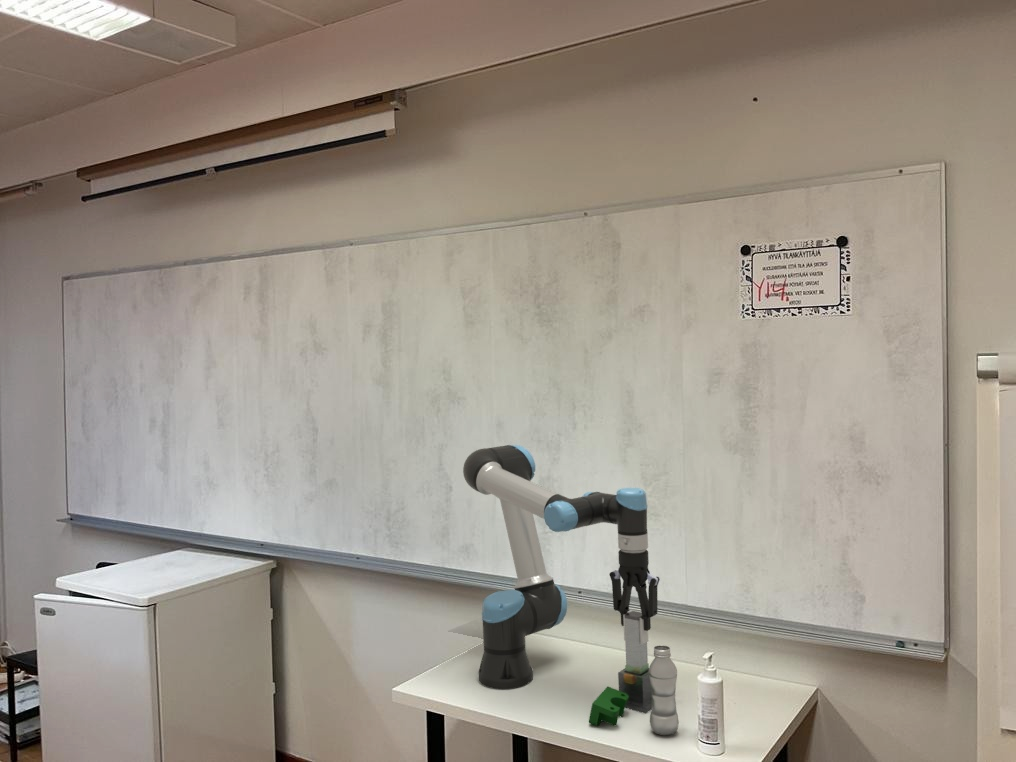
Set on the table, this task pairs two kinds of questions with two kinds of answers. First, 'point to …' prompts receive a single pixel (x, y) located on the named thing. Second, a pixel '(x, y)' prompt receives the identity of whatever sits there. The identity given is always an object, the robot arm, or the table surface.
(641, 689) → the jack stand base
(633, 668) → the column
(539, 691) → the table surface
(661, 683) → the plastic bottle
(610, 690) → the clamp
